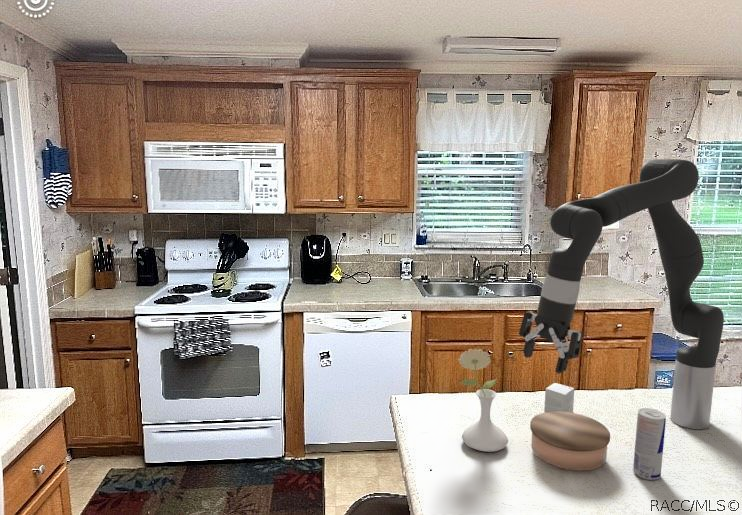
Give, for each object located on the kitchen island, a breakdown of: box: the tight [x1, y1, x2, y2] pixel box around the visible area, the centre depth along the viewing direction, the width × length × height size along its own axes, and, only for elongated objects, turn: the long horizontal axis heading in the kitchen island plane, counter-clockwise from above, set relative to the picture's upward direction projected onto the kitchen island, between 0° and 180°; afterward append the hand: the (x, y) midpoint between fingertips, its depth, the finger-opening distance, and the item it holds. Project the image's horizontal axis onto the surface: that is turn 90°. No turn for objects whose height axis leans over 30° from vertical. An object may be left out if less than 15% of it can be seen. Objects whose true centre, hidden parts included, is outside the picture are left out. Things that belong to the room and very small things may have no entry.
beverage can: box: [632, 407, 667, 481], centre depth 119 cm, size 6×6×15 cm
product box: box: [543, 382, 575, 413], centre depth 151 cm, size 6×6×7 cm
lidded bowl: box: [529, 411, 611, 471], centre depth 128 cm, size 18×18×7 cm
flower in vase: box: [457, 348, 509, 453], centre depth 133 cm, size 13×11×25 cm
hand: (542, 364), depth 120 cm, fingers open, 8 cm apart
